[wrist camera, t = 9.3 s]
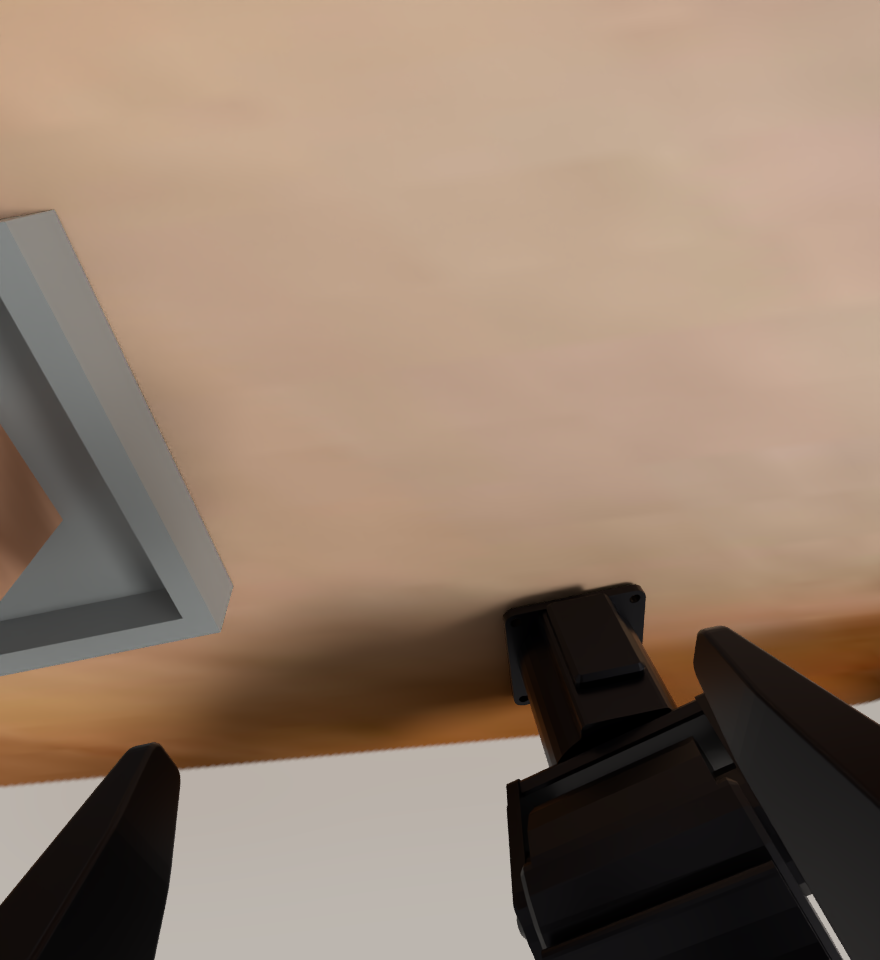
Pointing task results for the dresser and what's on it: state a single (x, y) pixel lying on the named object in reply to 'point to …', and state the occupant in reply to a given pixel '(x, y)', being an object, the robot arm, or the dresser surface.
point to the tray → (91, 475)
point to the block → (20, 514)
